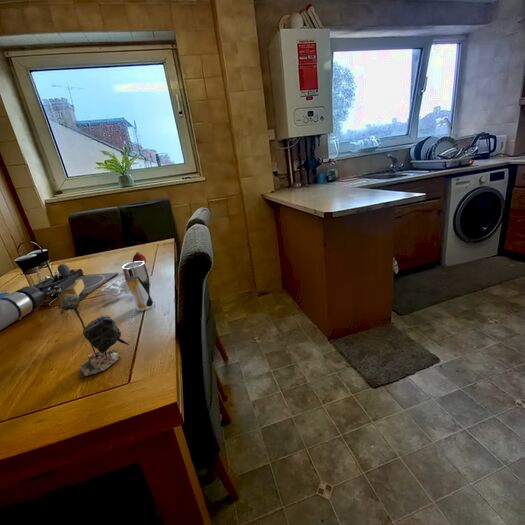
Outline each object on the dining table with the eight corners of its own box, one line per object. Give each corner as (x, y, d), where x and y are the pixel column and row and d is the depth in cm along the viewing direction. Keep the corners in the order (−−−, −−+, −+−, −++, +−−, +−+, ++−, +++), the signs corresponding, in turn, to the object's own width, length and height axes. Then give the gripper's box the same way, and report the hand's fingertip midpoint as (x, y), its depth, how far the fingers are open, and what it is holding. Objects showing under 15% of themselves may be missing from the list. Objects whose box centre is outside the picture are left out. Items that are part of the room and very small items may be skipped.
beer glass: (131, 307, 93) (118, 266, 87) (151, 299, 97) (139, 259, 92) (139, 314, 88) (125, 270, 83) (160, 305, 92) (148, 263, 87)
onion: (142, 270, 127) (137, 254, 124) (132, 270, 129) (127, 254, 126) (150, 265, 132) (146, 249, 129) (141, 265, 134) (136, 249, 131)
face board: (42, 297, 110) (41, 295, 110) (78, 276, 129) (78, 274, 128) (88, 294, 108) (87, 292, 107) (118, 274, 126) (117, 272, 126)
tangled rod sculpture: (119, 282, 120) (115, 273, 118) (152, 274, 120) (149, 266, 119) (98, 302, 101) (93, 292, 100) (137, 293, 102) (133, 283, 100)
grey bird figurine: (131, 363, 65) (105, 287, 58) (76, 382, 61) (41, 302, 54) (131, 345, 72) (108, 275, 65) (82, 360, 68) (52, 287, 62)
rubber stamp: (68, 290, 108) (57, 261, 104) (85, 287, 109) (74, 258, 105) (59, 301, 99) (46, 270, 95) (77, 297, 100) (66, 266, 96)
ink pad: (61, 303, 103) (60, 299, 102) (71, 296, 107) (70, 293, 107) (78, 302, 102) (77, 298, 101) (87, 295, 107) (86, 292, 106)
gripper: (5, 314, 87) (63, 282, 109) (49, 311, 85) (99, 279, 107) (-5, 292, 85) (56, 264, 107) (40, 289, 83) (92, 261, 104)
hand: (77, 272), depth 107 cm, fingers closed on rubber stamp, 2 cm apart
